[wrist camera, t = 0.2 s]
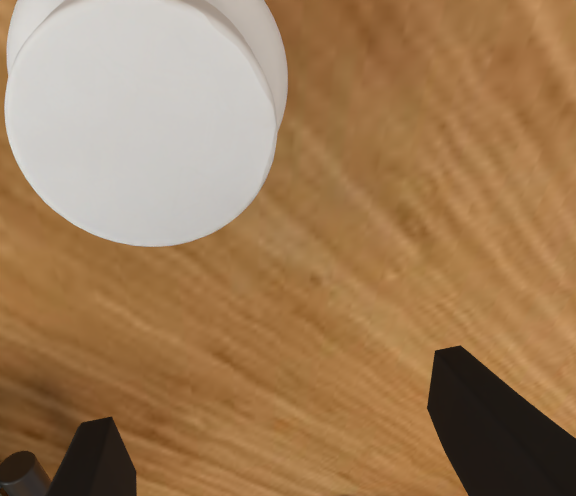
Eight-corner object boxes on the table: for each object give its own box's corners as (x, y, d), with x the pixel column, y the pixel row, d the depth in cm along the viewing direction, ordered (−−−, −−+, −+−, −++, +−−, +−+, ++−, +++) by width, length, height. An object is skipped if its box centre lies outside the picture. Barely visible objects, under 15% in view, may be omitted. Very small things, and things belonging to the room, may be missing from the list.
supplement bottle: (232, 125, 17) (280, 293, 9) (69, 96, 16) (-37, 269, 8) (264, -46, 15) (369, -11, 7) (72, -101, 13) (-85, -139, 5)
